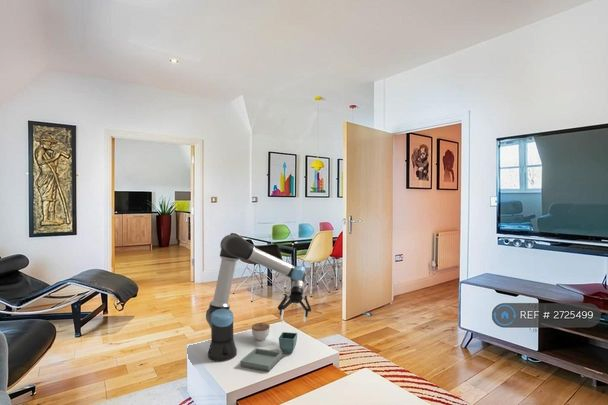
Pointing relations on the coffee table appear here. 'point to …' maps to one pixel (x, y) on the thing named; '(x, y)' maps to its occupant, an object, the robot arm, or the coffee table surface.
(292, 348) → the flower pot
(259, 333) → the lidded jar
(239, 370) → the coffee table surface
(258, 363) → the tray
